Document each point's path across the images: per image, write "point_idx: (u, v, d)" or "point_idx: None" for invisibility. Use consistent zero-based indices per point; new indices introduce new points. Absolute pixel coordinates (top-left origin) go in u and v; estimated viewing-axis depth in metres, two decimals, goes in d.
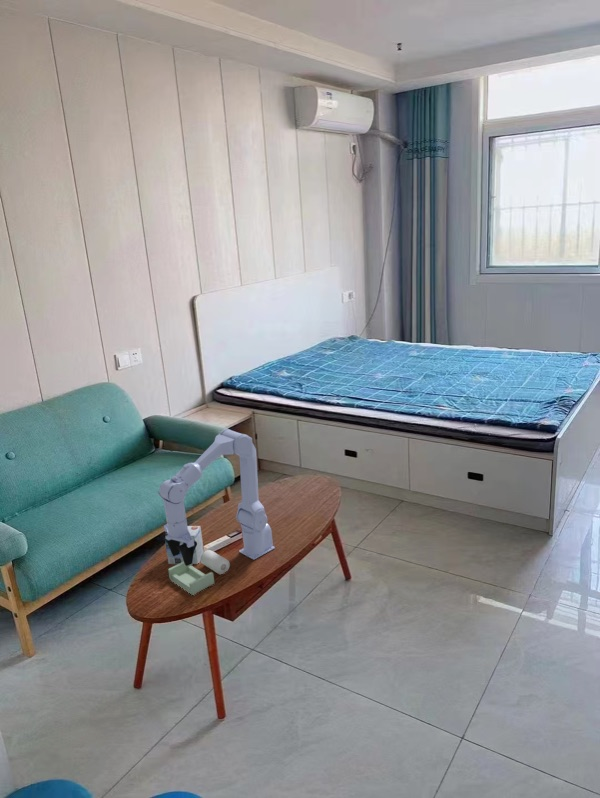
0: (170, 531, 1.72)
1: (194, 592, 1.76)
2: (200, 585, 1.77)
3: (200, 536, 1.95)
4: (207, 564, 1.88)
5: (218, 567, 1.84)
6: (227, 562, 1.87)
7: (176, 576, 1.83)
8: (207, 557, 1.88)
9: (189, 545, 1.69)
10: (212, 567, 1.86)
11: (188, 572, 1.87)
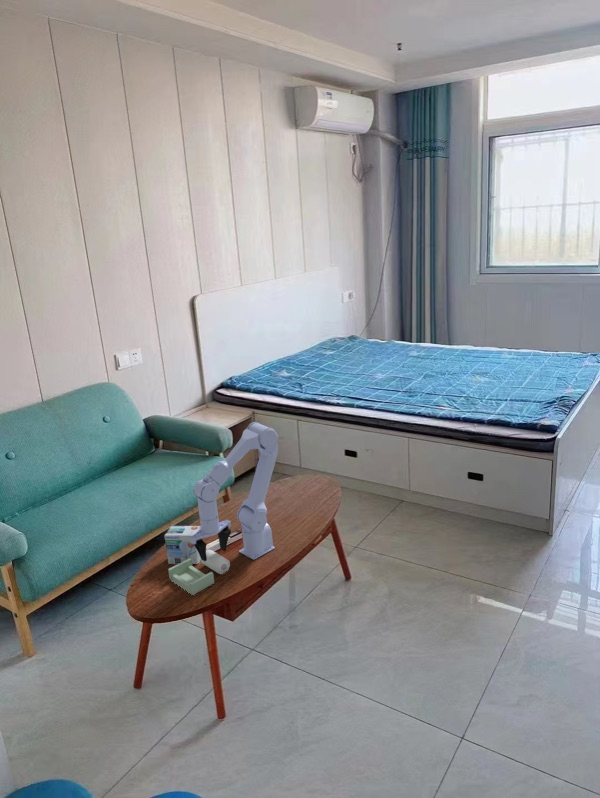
0: None
1: (194, 592, 1.76)
2: (200, 585, 1.77)
3: None
4: (207, 563, 1.88)
5: (218, 566, 1.84)
6: (227, 562, 1.87)
7: (176, 576, 1.83)
8: (208, 556, 1.88)
9: (190, 541, 1.82)
10: (212, 566, 1.86)
11: (188, 572, 1.87)
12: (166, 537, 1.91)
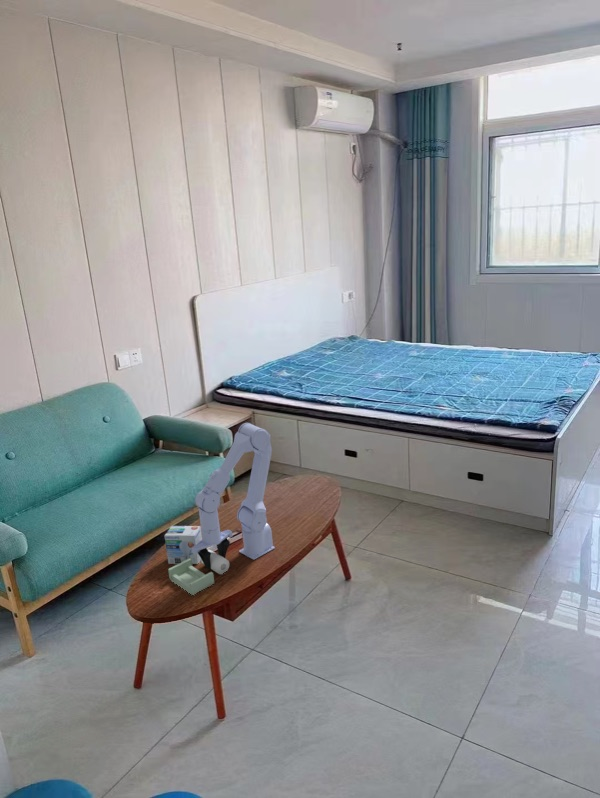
0: None
1: (194, 592, 1.76)
2: (200, 585, 1.77)
3: (200, 536, 1.95)
4: None
5: (218, 567, 1.84)
6: (227, 562, 1.87)
7: (176, 576, 1.83)
8: None
9: (192, 551, 1.83)
10: (212, 567, 1.86)
11: (188, 572, 1.87)
12: (166, 537, 1.91)
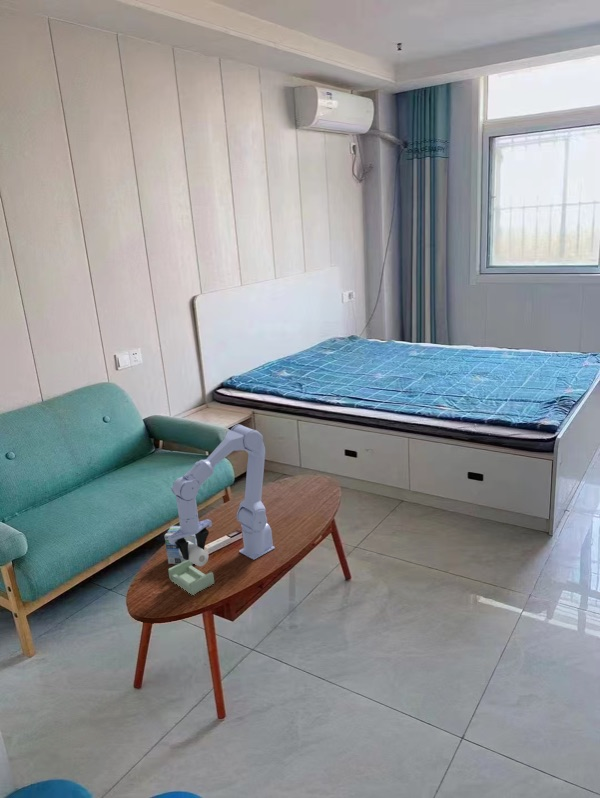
0: None
1: (194, 592, 1.76)
2: (200, 585, 1.77)
3: None
4: None
5: (196, 558, 1.77)
6: (206, 554, 1.80)
7: (176, 576, 1.83)
8: None
9: (169, 541, 1.76)
10: (190, 558, 1.79)
11: (188, 572, 1.87)
12: (166, 537, 1.91)
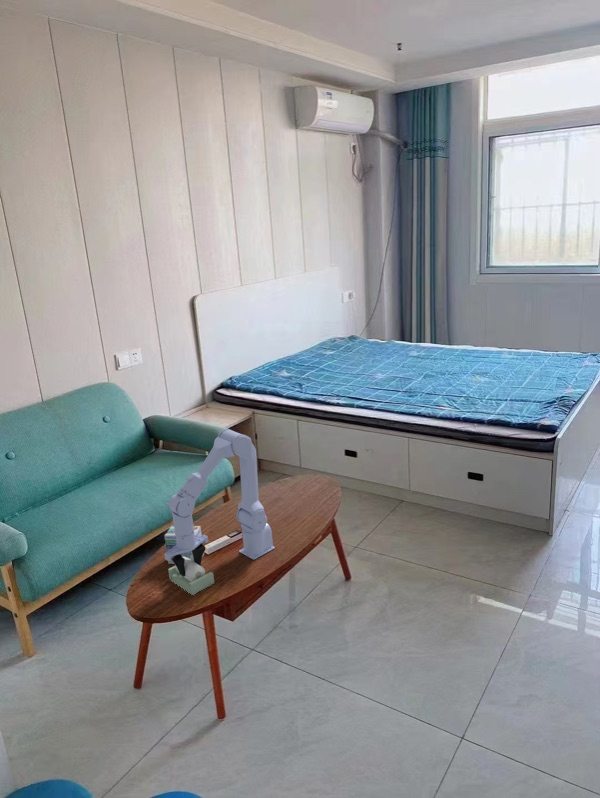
0: None
1: (194, 592, 1.76)
2: (200, 585, 1.77)
3: None
4: None
5: (193, 574, 1.77)
6: (202, 570, 1.80)
7: (176, 576, 1.83)
8: None
9: (165, 557, 1.75)
10: (186, 574, 1.79)
11: None
12: (166, 537, 1.91)
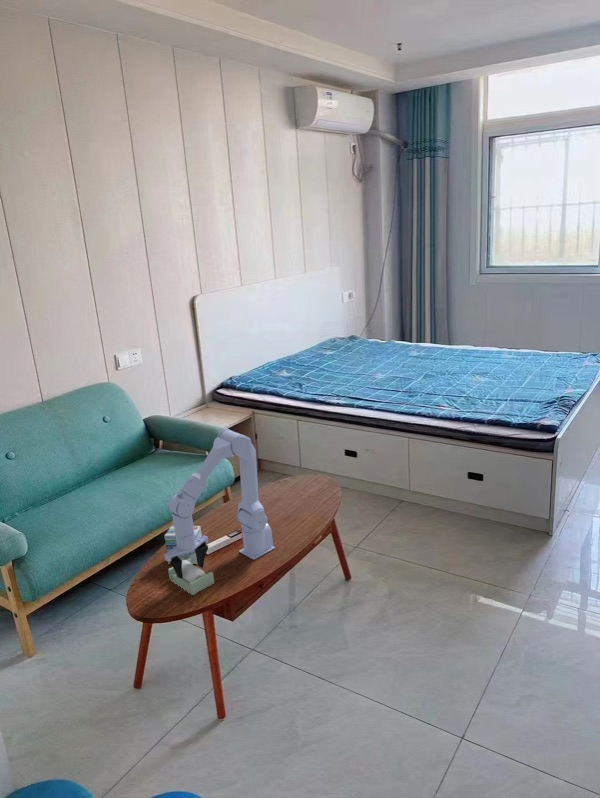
0: None
1: (194, 592, 1.76)
2: (200, 585, 1.77)
3: (200, 536, 1.95)
4: None
5: (193, 578, 1.78)
6: (203, 573, 1.80)
7: (176, 576, 1.83)
8: (182, 567, 1.82)
9: (165, 558, 1.76)
10: (187, 578, 1.79)
11: None
12: (166, 537, 1.91)
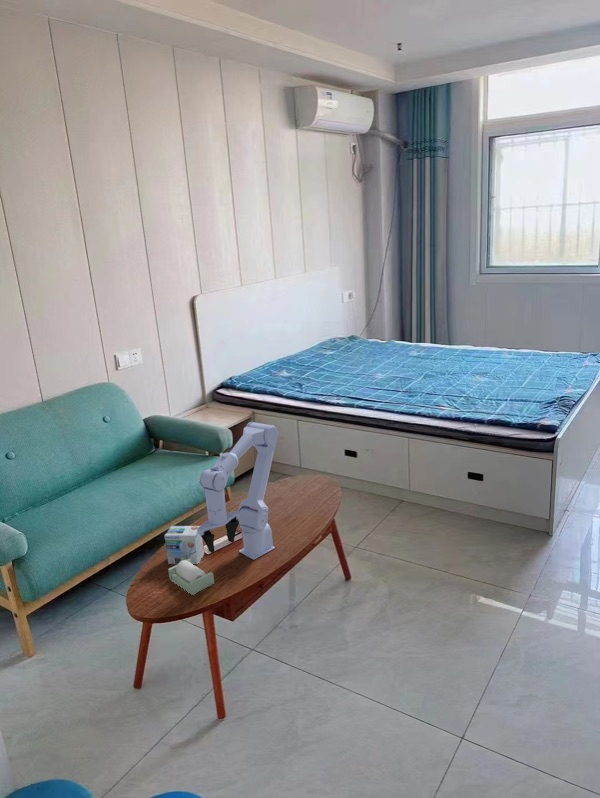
0: None
1: (194, 592, 1.76)
2: (200, 585, 1.77)
3: (200, 536, 1.95)
4: (182, 575, 1.81)
5: (193, 578, 1.78)
6: (203, 573, 1.80)
7: (176, 576, 1.83)
8: (183, 567, 1.82)
9: (198, 532, 1.77)
10: (187, 578, 1.79)
11: None
12: (166, 537, 1.91)
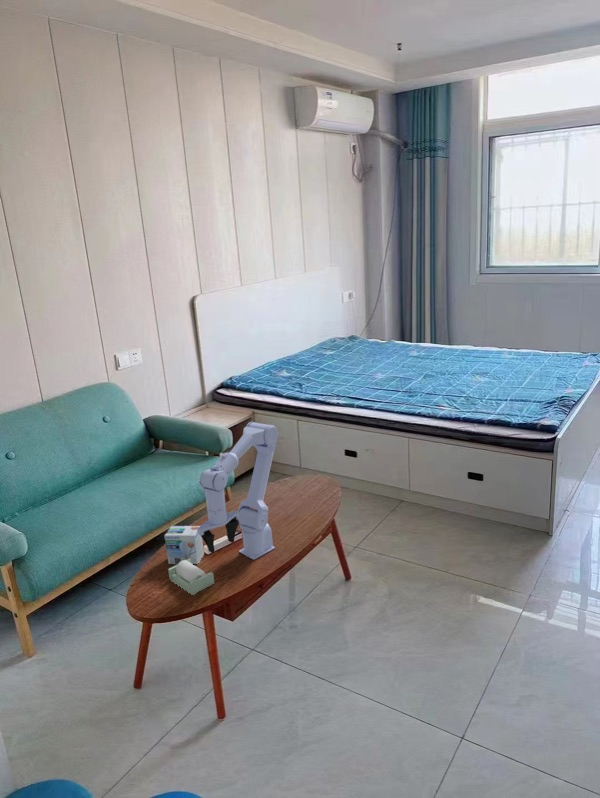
0: None
1: (194, 592, 1.76)
2: (200, 585, 1.77)
3: (200, 536, 1.95)
4: (182, 575, 1.81)
5: (193, 578, 1.78)
6: (203, 573, 1.80)
7: (176, 576, 1.83)
8: (182, 567, 1.82)
9: (198, 532, 1.77)
10: (187, 578, 1.79)
11: None
12: (166, 537, 1.91)
